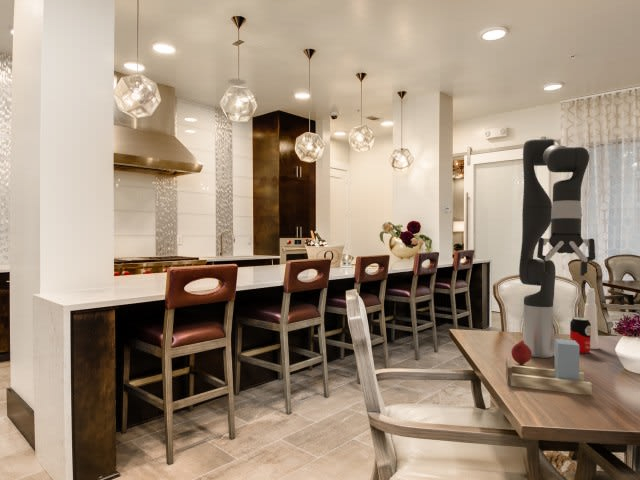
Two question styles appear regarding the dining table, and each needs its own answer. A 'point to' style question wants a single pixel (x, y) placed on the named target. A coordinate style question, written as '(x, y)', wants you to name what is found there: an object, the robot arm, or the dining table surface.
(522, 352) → the pomegranate
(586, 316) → the cosmetic bottle
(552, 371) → the wooden tray frame
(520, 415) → the dining table surface
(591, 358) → the dining table surface
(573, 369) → the block
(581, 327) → the beverage can
